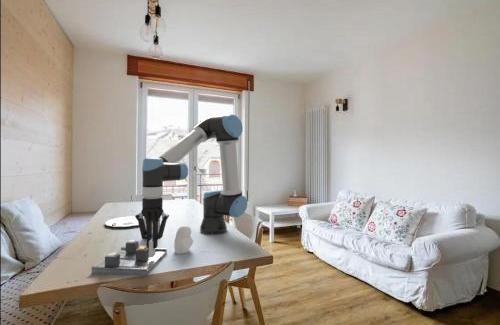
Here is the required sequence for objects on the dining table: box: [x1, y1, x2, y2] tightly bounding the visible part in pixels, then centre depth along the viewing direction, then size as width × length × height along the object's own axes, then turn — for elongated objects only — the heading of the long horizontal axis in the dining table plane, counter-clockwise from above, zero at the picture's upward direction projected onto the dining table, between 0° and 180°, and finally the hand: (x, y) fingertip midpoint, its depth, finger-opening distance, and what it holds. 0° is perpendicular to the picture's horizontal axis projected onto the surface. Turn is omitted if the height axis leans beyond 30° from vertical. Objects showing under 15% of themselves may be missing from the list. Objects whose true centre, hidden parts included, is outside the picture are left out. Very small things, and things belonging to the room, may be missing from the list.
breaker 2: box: [125, 239, 139, 253], centre depth 113 cm, size 4×3×5 cm
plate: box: [104, 215, 144, 229], centre depth 164 cm, size 25×25×2 cm
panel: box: [91, 246, 168, 277], centre depth 106 cm, size 20×21×2 cm
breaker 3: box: [136, 245, 149, 261], centre depth 105 cm, size 4×3×5 cm
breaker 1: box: [104, 251, 120, 267], centre depth 98 cm, size 4×3×5 cm
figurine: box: [173, 224, 194, 255], centre depth 119 cm, size 7×8×12 cm
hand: (152, 256), depth 105 cm, fingers closed
